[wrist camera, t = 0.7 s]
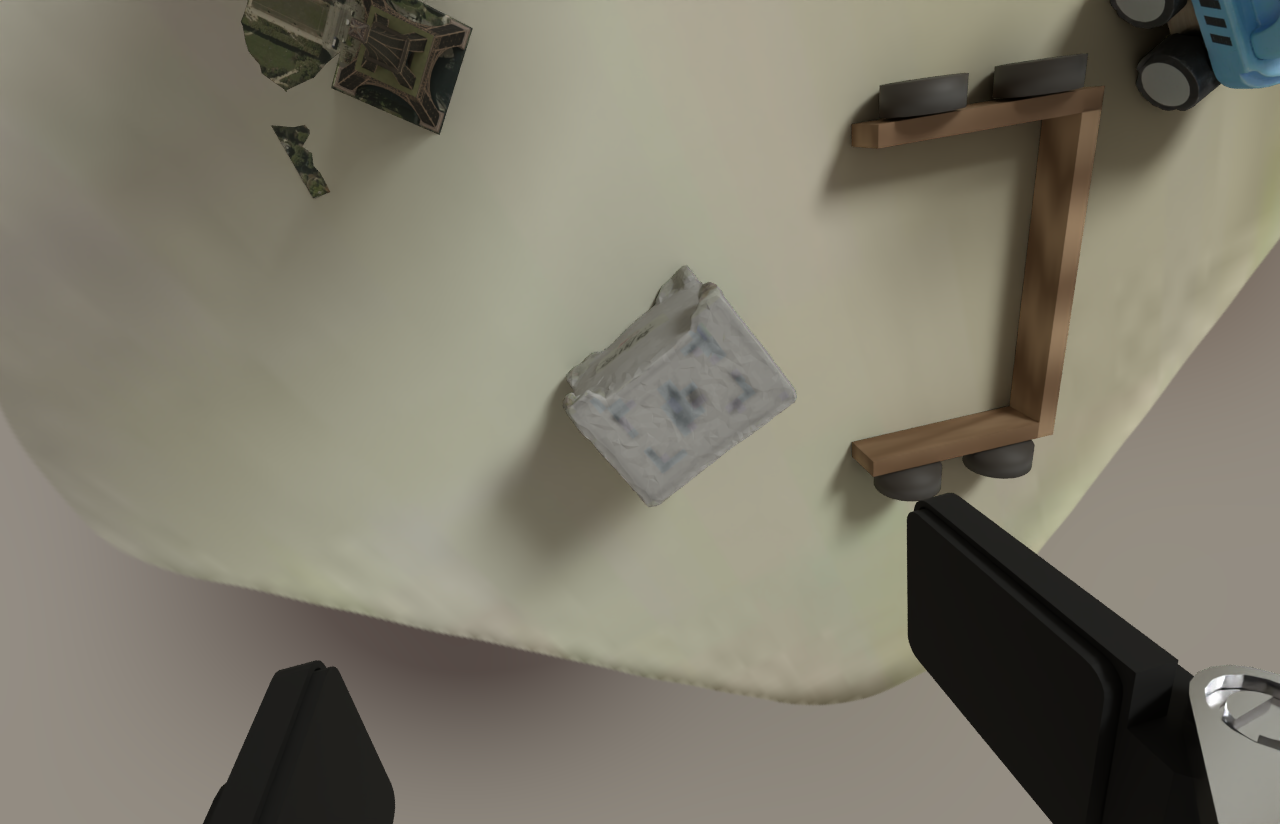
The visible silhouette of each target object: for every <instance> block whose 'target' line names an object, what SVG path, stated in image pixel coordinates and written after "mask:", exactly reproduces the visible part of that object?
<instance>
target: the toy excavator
mask: <svg viewBox="0 0 1280 824" xmlns="http://www.w3.org/2000/svg"><path fill="white" fill-rule="evenodd" d="M1110 3H1111V6H1113V8H1114V9H1115V10H1116V11H1117V14H1118V15H1119V17H1121V18H1123V19H1124V20H1126V21H1127V22H1128V23H1131V24H1132V25H1133V26H1135V27H1140V28H1148V29H1151V28H1153V27H1157V26H1162V25H1164V24H1166V23H1168V26H1169V30H1170V33H1171V35H1170V36H1168V37H1167V38H1166V39H1165V40H1164V41H1162V42H1161V43H1160V44H1159V45H1158V46H1156V47H1155V48H1154V49H1153V50H1152V51H1151V52H1149V53H1148V54H1147V55H1146V56H1145V57H1143V58H1142V59H1141V60H1140V62H1139V63H1138V66H1137V68H1136V69H1137V70H1138V71H1139V74H1138V79H1137V82H1136V85H1137V88H1138V90H1139V91H1140V92H1141V93H1142V95H1143V97H1144V98H1145V99H1146V100H1147V101H1149V102H1150V103H1151V104H1152V105H1154V106H1156V107H1159V108H1160V109H1162V110H1167V111H1169V110H1175V109H1177V110H1180V111H1186V110H1188V109H1190V108H1192V107H1194V106H1195V105H1196V104H1197V103H1198V102H1199V101H1201V100H1202V99H1203V98H1204V97H1206V96H1207V95H1208V94H1209V93H1210V92H1212V91H1213V90H1214V89H1215V88H1216V87H1218V86H1219V85H1220V84H1223V85H1224V86H1226V87H1229V88H1236V89H1253V88H1264V87H1270V86H1273V85H1276V84H1280V0H1110Z"/></svg>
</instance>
